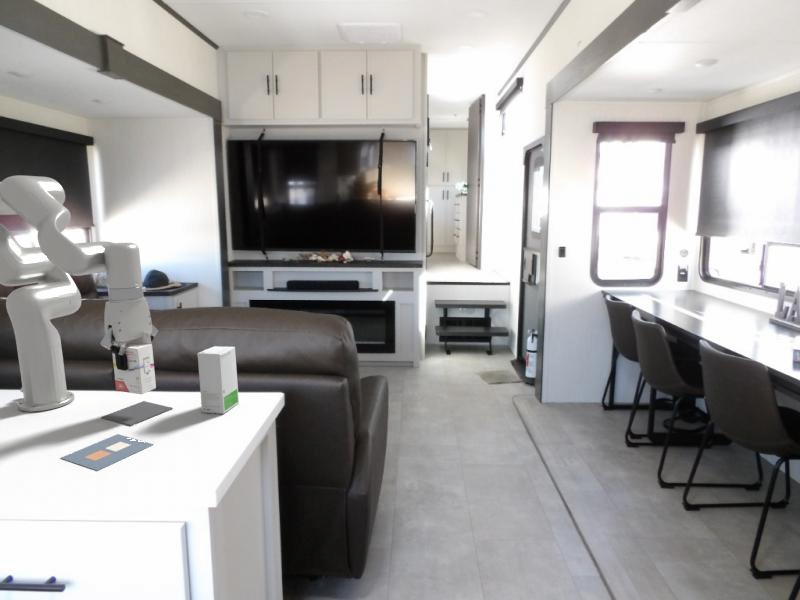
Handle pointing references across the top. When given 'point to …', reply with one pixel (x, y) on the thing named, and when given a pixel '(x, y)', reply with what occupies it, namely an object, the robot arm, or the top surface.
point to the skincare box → (218, 379)
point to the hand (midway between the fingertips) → (133, 365)
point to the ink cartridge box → (136, 367)
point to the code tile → (106, 452)
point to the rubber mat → (137, 413)
